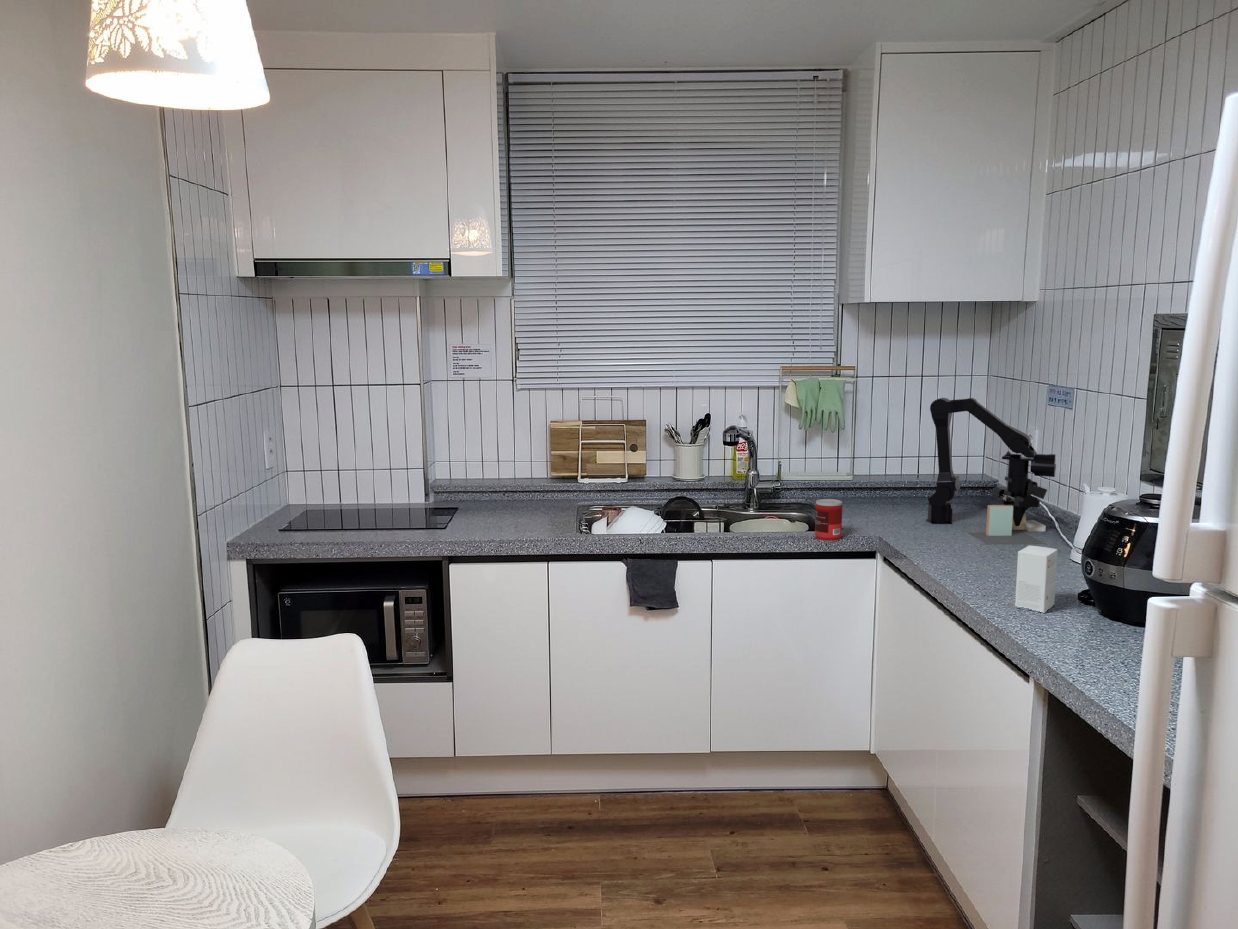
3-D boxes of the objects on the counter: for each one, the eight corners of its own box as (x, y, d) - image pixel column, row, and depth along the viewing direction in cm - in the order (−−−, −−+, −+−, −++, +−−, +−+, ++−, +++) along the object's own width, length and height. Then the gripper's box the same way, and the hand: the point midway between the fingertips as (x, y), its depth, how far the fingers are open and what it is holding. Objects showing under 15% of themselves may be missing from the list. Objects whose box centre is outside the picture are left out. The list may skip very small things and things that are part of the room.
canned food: (842, 535, 274) (843, 499, 272) (839, 541, 266) (841, 504, 265) (816, 534, 276) (817, 498, 275) (813, 539, 269) (814, 503, 267)
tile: (988, 536, 271) (989, 506, 270) (985, 534, 273) (987, 505, 272) (1011, 535, 271) (1013, 506, 270) (1009, 534, 273) (1011, 504, 272)
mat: (987, 545, 261) (987, 544, 261) (967, 533, 276) (967, 532, 276) (1046, 545, 261) (1047, 544, 261) (1023, 533, 276) (1023, 532, 276)
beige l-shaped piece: (995, 531, 277) (996, 515, 276) (985, 526, 285) (986, 510, 284) (1045, 531, 277) (1046, 515, 276) (1033, 525, 285) (1034, 510, 284)
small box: (1025, 600, 208) (1028, 544, 206) (1054, 605, 204) (1058, 548, 202) (1013, 608, 202) (1017, 551, 200) (1044, 614, 198) (1048, 555, 196)
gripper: (1059, 479, 269) (1055, 531, 271) (1030, 469, 287) (1027, 518, 290) (1021, 479, 269) (1018, 531, 271) (995, 469, 287) (992, 518, 290)
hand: (1014, 524), depth 280 cm, fingers closed on beige l-shaped piece, 3 cm apart
